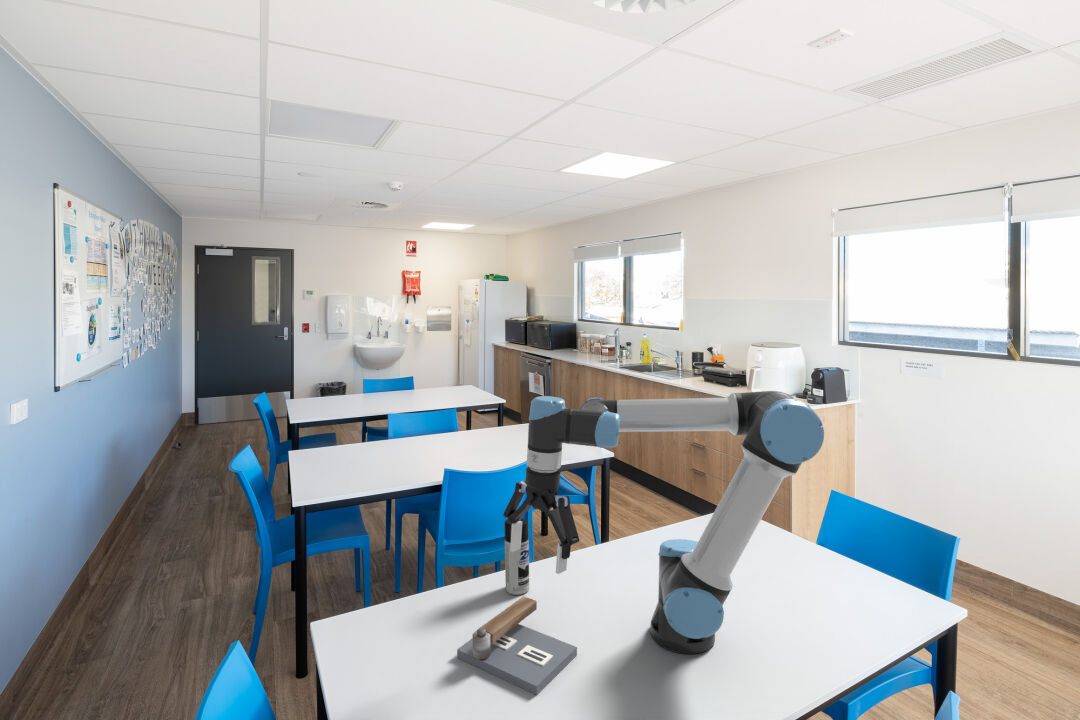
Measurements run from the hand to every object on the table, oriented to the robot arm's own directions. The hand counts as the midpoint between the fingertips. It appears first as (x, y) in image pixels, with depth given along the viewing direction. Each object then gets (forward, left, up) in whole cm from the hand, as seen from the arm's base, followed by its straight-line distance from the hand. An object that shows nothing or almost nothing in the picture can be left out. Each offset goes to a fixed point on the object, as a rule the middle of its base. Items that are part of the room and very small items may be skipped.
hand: (537, 560), depth 127 cm
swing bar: (+9, 0, -21) cm, 23 cm away
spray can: (+22, -22, -23) cm, 39 cm away
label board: (+4, +2, -23) cm, 24 cm away
